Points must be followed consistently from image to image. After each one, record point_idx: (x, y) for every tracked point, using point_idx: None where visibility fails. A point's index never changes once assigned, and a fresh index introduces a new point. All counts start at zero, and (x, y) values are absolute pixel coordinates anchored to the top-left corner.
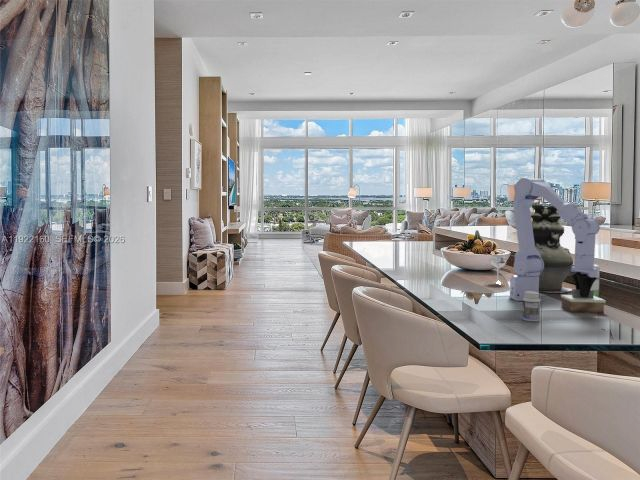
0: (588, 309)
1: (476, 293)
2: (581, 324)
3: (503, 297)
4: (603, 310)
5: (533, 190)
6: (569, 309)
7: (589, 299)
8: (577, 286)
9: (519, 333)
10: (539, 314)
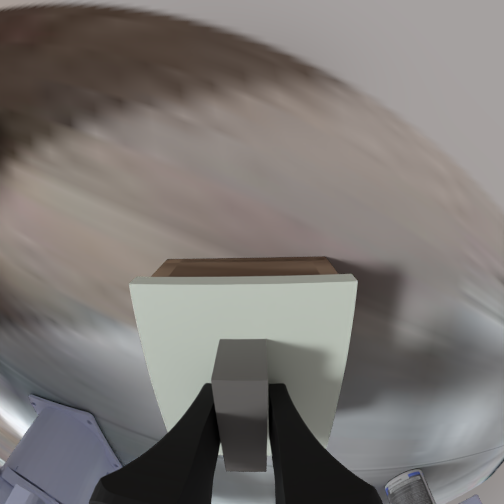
0: None
1: None
2: (478, 396)
3: None
4: (328, 262)
5: None
6: None
7: (327, 380)
8: (212, 468)
9: (474, 469)
10: (423, 480)
